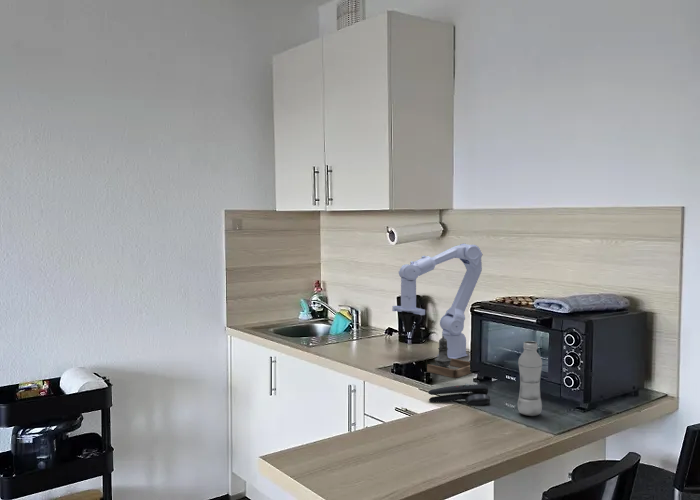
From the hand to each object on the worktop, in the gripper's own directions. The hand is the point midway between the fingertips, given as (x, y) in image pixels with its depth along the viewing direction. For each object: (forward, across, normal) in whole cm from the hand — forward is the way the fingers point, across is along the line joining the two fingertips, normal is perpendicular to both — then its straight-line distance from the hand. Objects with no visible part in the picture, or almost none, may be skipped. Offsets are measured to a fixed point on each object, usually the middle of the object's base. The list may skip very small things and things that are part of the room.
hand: (408, 332), depth 238 cm
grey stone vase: (+11, +19, -3) cm, 22 cm away
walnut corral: (+10, +23, -3) cm, 25 cm away
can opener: (+11, +46, -31) cm, 56 cm away
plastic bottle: (+11, +66, -27) cm, 72 cm away
